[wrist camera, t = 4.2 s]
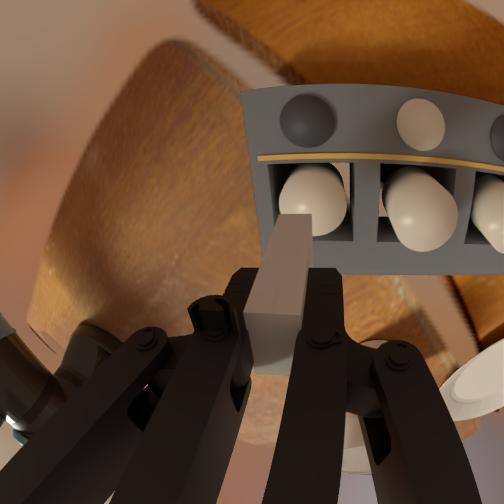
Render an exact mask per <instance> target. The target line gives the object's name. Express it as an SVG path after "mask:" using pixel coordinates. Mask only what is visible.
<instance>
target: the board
mask: <svg viewBox="0 0 504 504" xmlns="http://www.w3.org/2000/svg"><path fill="white" fill-rule="evenodd" d="M241 98H242V105H243V112H244V120H245V127H246V134H247V142H248V149H249V157H250V164H251V172H252V179H253V187H254V194H255V202H256V210H257V218H258V226H259V233H260V241H261V249H262V257H264V254H265V251H266V248H267V245H268V243H269V240H270V237H271V234H272V232H273V229H274V226H275V223H276V220H277V218H278V215H279V214H281V213H280V209H279V198H280V194H281V191H282V184H281V174H280V164H286V163H326V162H348V163H350V216H345V217H344V219H343V221H342V222H341V224H340V225H339V226H338V227H337V228H336V229H335V230H333V231H332V232H330V233H328V234H325V235H321V236H313V268H336V269H337V270H338V272H339V273H340V274H355V275H503V274H504V253H500V252H498V251H497V250H496V249H495V248H494V247H493V246H492V245H491V243H490V242H489V241H488V240H487V239H486V237H485V236H484V235H483V234H482V233H481V232H480V230H479V229H478V228H477V227H476V226H475V225H474V224H473V222H472V221H471V220H469V217H470V211H471V205H472V199H473V191H474V183H475V174H476V171H479V172H486V173H493V174H499V175H500V178H499V179H501V180H502V181H504V105H500V104H496V103H493V102H489V101H485V100H481V99H477V98H472V97H468V96H463V95H458V94H453V93H447V92H441V91H435V90H428V89H420V88H412V87H402V86H390V85H374V84H308V85H291V86H279V87H269V88H260V89H251V90H244V91H241ZM380 163H387V164H406V165H421V166H434V175H433V178H434V179H435V180H436V181H437V182H438V183H439V184H440V185H442V186H443V187H444V188H445V189H446V190H447V191H448V192H449V193H450V194H451V195H452V197H453V198H454V200H455V202H456V205H457V210H458V220H457V225H456V228H455V230H454V232H453V234H452V235H451V237H450V238H449V239H448V241H447V242H445V243H444V244H443V245H442V246H440V247H439V248H437V249H434V250H431V251H427V252H419V251H414V250H411V249H409V248H407V247H406V246H404V245H403V244H402V243H401V242H400V240H399V239H398V237H397V235H396V233H395V230H394V228H393V226H392V224H391V221H390V219H389V217H378V213H379V196H380Z"/></svg>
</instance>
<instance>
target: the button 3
mask: <svg viewBox="0 0 504 504" xmlns="http://www.w3.org/2000/svg"><path fill="white" fill-rule="evenodd" d="M469 219H470V220H471V221H472V222H473V224H474V225H475V226H476V227H477V228H478V229H479V230H480V232H481V233H482V234H483V235H484V236H485V237H486V239H487V240H488V241H489V242H490V243H491V245H492V246H493V247H494V248H495V249H496V250H497V251H498V252H500V253H504V181H502V180H501V179H499V178H498V177H496V176H494V175H490V174H487V175H483V176H481V177H479V178H477V179H476V180H475V183H474V191H473V199H472V205H471V211H470V217H469Z"/></svg>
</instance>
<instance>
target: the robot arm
mask: <svg viewBox="0 0 504 504" xmlns="http://www.w3.org/2000/svg"><path fill="white" fill-rule="evenodd" d="M342 286H343V285H342V276H341V274H340V273H339V272H338V270H337V269H336V268H313V236H312V214H279V215H278V218H277V220H276V223H275V226H274V229H273V232H272V234H271V237H270V240H269V243H268V245H267V248H266V251H265V254H264V257H263V259H262V262H261V265H260V268H240V269H239V270H238V271H237V272H236V273H234V274H233V275H232V277H231V279H230V281H229V283H228V286H227V287H226V290H225V293H224V294H223V296H221V295H209V296H206V297H202V298H199V299H198V300H196V301H194V302H193V303H192V304H191V305H190V306H189V307H188V308H187V309H188V312H189V315H190V318H191V321H192V324H193V327H194V330H195V331H194V333H193V334H190V335H185V336H177V337H169V338H168V337H167V335H166V332H165V331H164V330H162V329H161V328H159V327H145V328H143V329H140V330H138V331H137V332H135V333H134V334H132V335H131V336H130V337H129V338H128V339H127V340H126V341H125V342H124V343H123V344H122V343H120V342H119V341H118V340H117V339H115V338H114V337H112V336H111V335H109V334H108V333H106V332H104V331H103V330H101V329H99V328H97V327H94V326H91V325H87V324H82V325H80V326H78V327H77V329H76V330H75V331H74V332H73V333H72V335H71V337H70V341H69V344H68V346H67V349H66V352H65V354H64V357H63V360H62V363H61V365H60V366H59V368H58V369H57V371H56V372H55V373H54V374H53V375H52V373H51V372H50V371H49V370H48V369H47V368H46V367H45V366H44V365H43V364H42V363H41V362H40V360H39V359H38V358H37V357H36V356H35V355H34V354H33V353H32V351H31V350H30V349H29V348H28V347H27V345H26V344H25V343H24V342H23V341H22V339H21V338H20V337H19V336H18V334H17V333H16V330H15V329H14V328H12V327H11V325H10V324H9V323H8V322H7V321H6V319H5V318H4V317H3V315H2V314H1V313H0V427H1V425H2V424H3V422H4V421H7V422H8V423H9V424H10V425H12V427H14V429H13V437H14V438H15V439H16V440H17V441H18V442H19V443H20V444H21V445H22V446H23V447H22V448H21V449H20V450H19V451H18V452H17V453H16V454H15V455H14V456H13V457H12V459H11V460H10V461H9V462H8V463H7V464H6V465H5V466H4V467H3V469H2V470H1V471H0V504H104V503H105V502H106V501H107V499H108V498H109V497H110V496H111V495H112V493H113V492H114V491H115V492H114V494H113V496H112V499H111V501H110V503H109V504H216V502H217V498H218V496H219V492H220V490H221V486H222V483H223V480H224V477H225V474H226V471H227V468H228V464H229V461H230V458H231V454H232V452H233V448H234V445H235V442H236V438H237V435H238V432H239V428H240V425H241V422H242V418H243V415H244V411H245V408H246V404H247V401H248V397H249V394H250V390H251V377H250V374H251V371H252V367H253V365H254V370H255V373H259V374H269V375H282V376H290V377H289V383H288V388H287V394H286V399H285V404H284V409H283V414H282V419H281V424H280V429H279V434H278V438H277V443H276V447H275V452H274V456H273V460H272V465H271V469H270V473H269V477H268V481H267V485H266V489H265V493H264V497H263V501H262V504H337V502H338V495H339V487H340V478H341V470H342V460H343V449H344V436H345V420H346V412H349V413H352V414H355V415H357V416H358V419H359V423H360V427H361V431H362V435H363V439H364V443H365V447H366V451H367V455H368V460H369V464H370V468H371V473H372V477H373V482H374V486H375V491H376V496H377V501H378V504H482V502H481V498H480V495H479V492H478V488H477V485H476V482H475V478H474V475H473V472H472V470H471V467H470V463H469V460H468V458H467V455H466V452H465V449H464V447H463V444H462V442H461V439H460V436H459V434H458V431H457V429H456V427H455V424H454V422H453V419H452V417H451V415H450V412H449V410H448V408H447V406H446V403H445V401H444V399H443V397H442V395H441V393H440V390H439V388H438V386H437V384H436V382H435V380H434V378H433V376H432V374H431V372H430V370H429V368H428V366H427V364H426V362H425V360H424V358H423V356H422V354H421V353H420V351H419V350H418V349H417V348H416V347H415V346H414V345H412V344H410V343H409V342H406V341H401V340H391V341H388V342H385V343H383V344H381V345H380V346H379V347H378V348H377V349H376V348H372V347H368V346H364V345H362V344H359V343H357V342H355V341H354V340H352V339H351V338H350V337H349V336H348V334H347V332H346V331H345V326H344V304H343V288H342ZM147 384H148V386H147V387H146V388H144V387H145V386H146V385H147ZM143 388H144V389H143Z"/></svg>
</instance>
